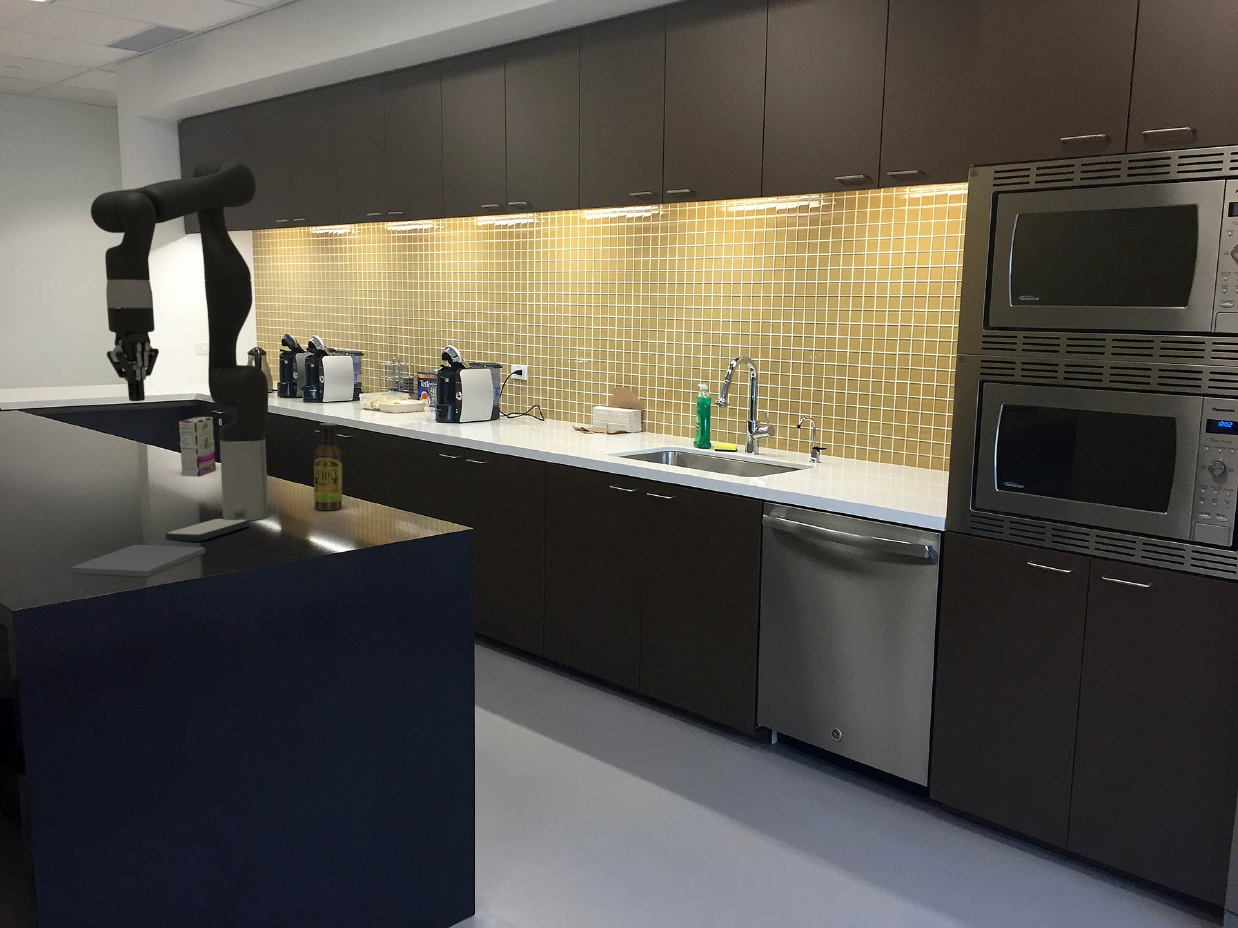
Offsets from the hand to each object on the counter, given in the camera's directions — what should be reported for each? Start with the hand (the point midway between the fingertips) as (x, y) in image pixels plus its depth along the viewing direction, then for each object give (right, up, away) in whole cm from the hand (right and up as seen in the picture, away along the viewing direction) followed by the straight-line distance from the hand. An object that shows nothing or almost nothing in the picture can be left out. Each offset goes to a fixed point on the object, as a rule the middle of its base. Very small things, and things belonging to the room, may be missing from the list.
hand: (136, 400), depth 181 cm
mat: (+4, -29, -6) cm, 30 cm away
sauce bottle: (+22, -22, +46) cm, 56 cm away
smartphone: (+3, -26, +10) cm, 28 cm away
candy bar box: (-26, -16, +88) cm, 93 cm away
